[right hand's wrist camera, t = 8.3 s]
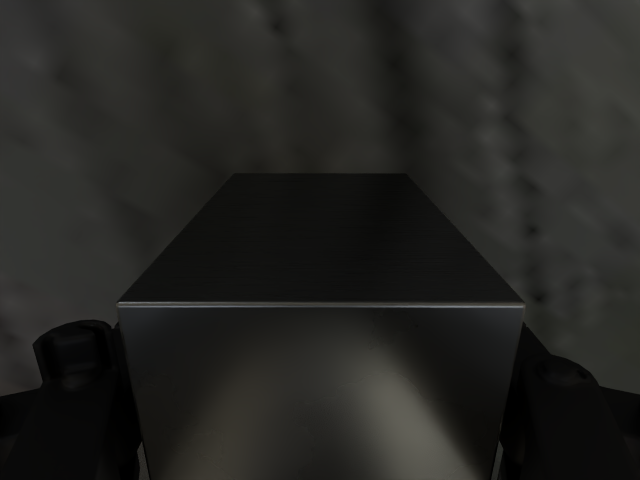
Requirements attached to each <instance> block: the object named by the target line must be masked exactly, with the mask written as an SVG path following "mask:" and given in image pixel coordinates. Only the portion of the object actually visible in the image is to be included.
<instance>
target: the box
mask: <svg viewBox="0 0 640 480" xmlns="http://www.w3.org/2000/svg"><path fill="white" fill-rule="evenodd" d="M525 308H526V306H525V302H524V301H523V300H522V299H521V298H520V297H519V295H518V294H517V293H516V292H515V291H514V290H513V289H512V288H511V287H510V286H509V285H508V284H507V282H506V281H505V280H504V279H503V278H502V277H501V276H500V275H499V274H498V273H497V272H496V270H495V269H494V268H493V267H492V266H491V265H490V264H489V263H488V262H487V261H486V260H485V259H484V257H483V256H482V255H481V254H480V253H479V252H478V251H477V250H476V249H475V248H474V247H473V245H472V244H471V243H470V242H469V241H468V240H467V239H466V238H465V237H464V236H463V235H462V234H461V232H460V231H459V230H458V229H457V228H456V227H455V226H454V225H453V224H452V223H451V222H450V220H449V219H448V218H447V217H446V216H445V215H444V214H443V213H442V212H441V211H440V210H439V209H438V207H437V206H436V205H435V204H434V203H433V202H432V201H431V200H430V199H429V198H428V197H427V195H426V194H425V193H424V192H423V191H422V190H421V189H420V188H419V187H418V186H417V185H416V183H415V182H414V181H413V180H412V179H411V178H410V177H409V176H408V175H407V174H405V173H234V174H233V175H232V176H231V177H230V178H229V179H228V180H227V181H226V183H225V184H224V185H223V186H222V187H221V188H220V189H219V190H218V191H217V192H216V194H215V195H214V196H213V197H212V198H211V199H210V200H209V201H208V202H207V203H206V205H205V206H204V207H203V208H202V209H201V210H200V211H199V212H198V213H197V214H196V215H195V217H194V218H193V219H192V220H191V221H190V222H189V223H188V224H187V225H186V226H185V228H184V229H183V230H182V231H181V232H180V233H179V234H178V235H177V236H176V237H175V239H174V240H173V241H172V242H171V243H170V244H169V245H168V246H167V247H166V248H165V249H164V251H163V252H162V253H161V254H160V255H159V256H158V257H157V258H156V259H155V260H154V262H153V263H152V264H151V265H150V266H149V267H148V268H147V269H146V270H145V271H144V273H143V274H142V275H141V276H140V277H139V278H138V279H137V280H136V281H135V282H134V283H133V285H132V286H131V287H130V288H129V289H128V290H127V291H126V292H125V293H124V294H123V296H122V297H121V298H120V299H119V300H118V301H117V303H116V311H117V316H118V321H119V326H120V331H121V336H122V341H123V346H124V351H125V356H126V361H127V366H128V372H129V377H130V382H131V387H132V392H133V397H134V402H135V407H136V412H137V417H138V422H139V427H140V432H141V438H142V443H143V448H144V453H145V458H146V463H147V468H148V473H149V478H150V480H491V477H492V472H493V467H494V462H495V457H496V452H497V447H498V442H499V437H500V432H501V427H502V422H503V417H504V412H505V407H506V402H507V397H508V392H509V387H510V383H511V378H512V373H513V368H514V363H515V358H516V353H517V348H518V343H519V338H520V333H521V328H522V323H523V318H524V313H525Z"/></svg>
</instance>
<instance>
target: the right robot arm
mask: <svg viewBox="0 0 640 480" xmlns="http://www.w3.org/2000/svg"><path fill="white" fill-rule="evenodd" d="M32 345H33V349H34V352H35V356H36V359H37V363H38V366H39V370H40V373H41V376H42V380H43V383H42V385H41V387H40V388H38V389H34V390H30V391H25V392H20V393H15V394H10V395H5V396H0V480H139V472H140V465H139V459H138V454H137V450H138V447H139V445H140V443H141V441H142V438H141V432H140V427H139V422H138V417H137V412H136V407H135V402H134V397H133V392H132V387H131V382H130V377H129V372H128V366H127V361H126V356H125V351H124V346H123V341H122V336H121V331H120V326H119V322H118V323H117V324H116V325H115V328H114V329H112V328H111V326H110V325H109V324H107V323H106V322H104V321H99V320H80V321H76V322H71V323H67V324H64V325H61V326H59V327H56V328H54V329H51V330H50V331H48V332H46V333H45V334H43V335H42V336H40V337H39V338H38V339H37V340H36V341H35V342H34V343H33V344H32ZM499 441H500V443H501V445H502V447H503V454H502V459H501V464H500V469H499V473H498V478H497V480H640V395H639V394H634V393H629V392H624V391H620V390H615V389H610V388H605V387H602V386H599V384H598V382H597V381H596V379H595V378H594V377H593V375H592V374H591V373H590V372H589V371H588V370H586V369H585V368H583V367H582V366H581V365H579V364H577V363H575V362H573V361H571V360H568V359H566V358H563V357H559V356H555V355H551V354H550V353H549V352H548V350H547V349H546V348H545V347H544V346H543V344H542V343H541V342H540V341H539V340H538V338H537V337H536V336H535V335H534V334H533V333H532V331H531V330H530V329H529V328H528V327H526V324H525V323H524V322H523V323H522V328H521V333H520V338H519V343H518V348H517V353H516V358H515V363H514V368H513V373H512V378H511V383H510V387H509V392H508V397H507V402H506V407H505V412H504V417H503V422H502V427H501V432H500V437H499Z"/></svg>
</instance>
